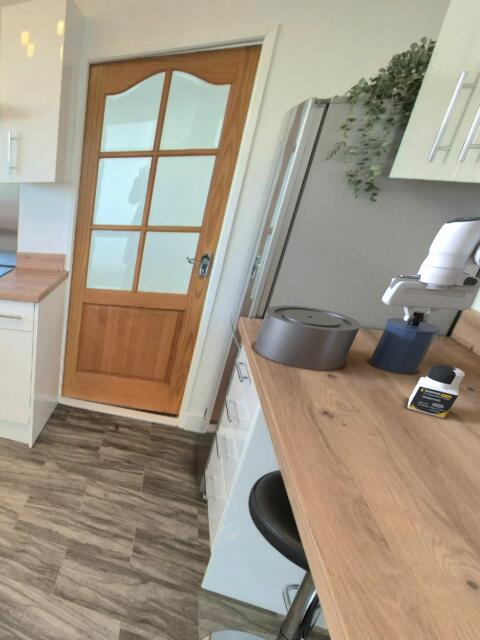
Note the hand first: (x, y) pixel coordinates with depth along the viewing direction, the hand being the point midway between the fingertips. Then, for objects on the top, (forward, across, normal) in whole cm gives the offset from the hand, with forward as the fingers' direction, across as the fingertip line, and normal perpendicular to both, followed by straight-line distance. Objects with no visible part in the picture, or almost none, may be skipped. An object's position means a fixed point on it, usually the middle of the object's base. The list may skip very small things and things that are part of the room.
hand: (415, 321), depth 131 cm
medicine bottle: (+15, -6, -30) cm, 34 cm away
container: (+15, -26, +2) cm, 30 cm away
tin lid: (+2, 0, 0) cm, 2 cm away
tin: (+15, 0, 0) cm, 15 cm away
